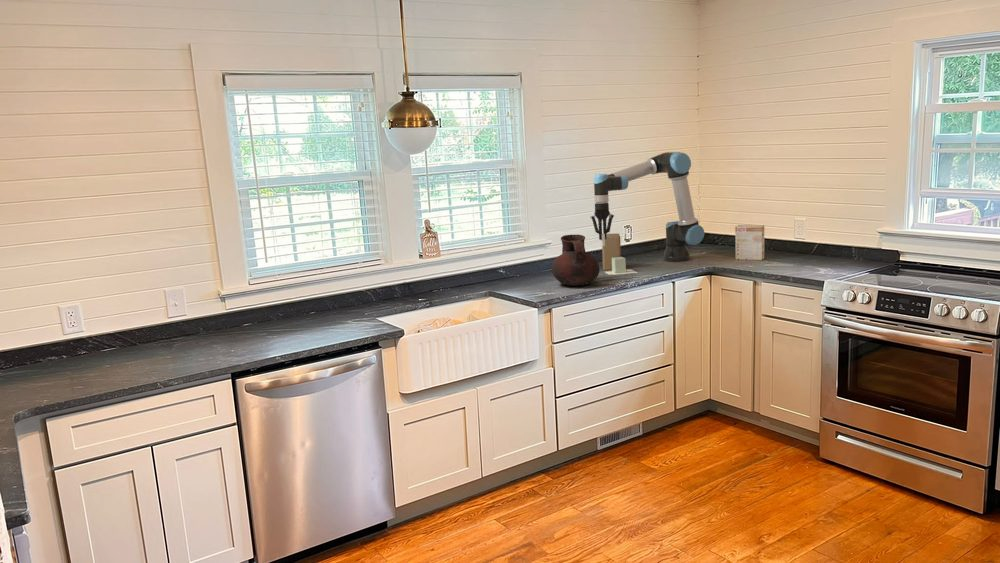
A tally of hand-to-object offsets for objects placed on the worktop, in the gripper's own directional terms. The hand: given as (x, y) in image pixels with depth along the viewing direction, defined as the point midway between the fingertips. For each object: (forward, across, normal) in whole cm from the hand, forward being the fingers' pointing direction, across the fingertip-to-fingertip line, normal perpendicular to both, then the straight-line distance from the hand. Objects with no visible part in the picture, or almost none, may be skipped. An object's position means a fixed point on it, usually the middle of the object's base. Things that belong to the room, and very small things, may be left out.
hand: (603, 245), depth 407 cm
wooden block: (+16, -9, -13) cm, 23 cm away
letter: (+16, -10, 0) cm, 19 cm away
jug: (+16, +21, +21) cm, 34 cm away
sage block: (+16, -9, 0) cm, 18 cm away
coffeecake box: (+16, -90, -7) cm, 91 cm away
